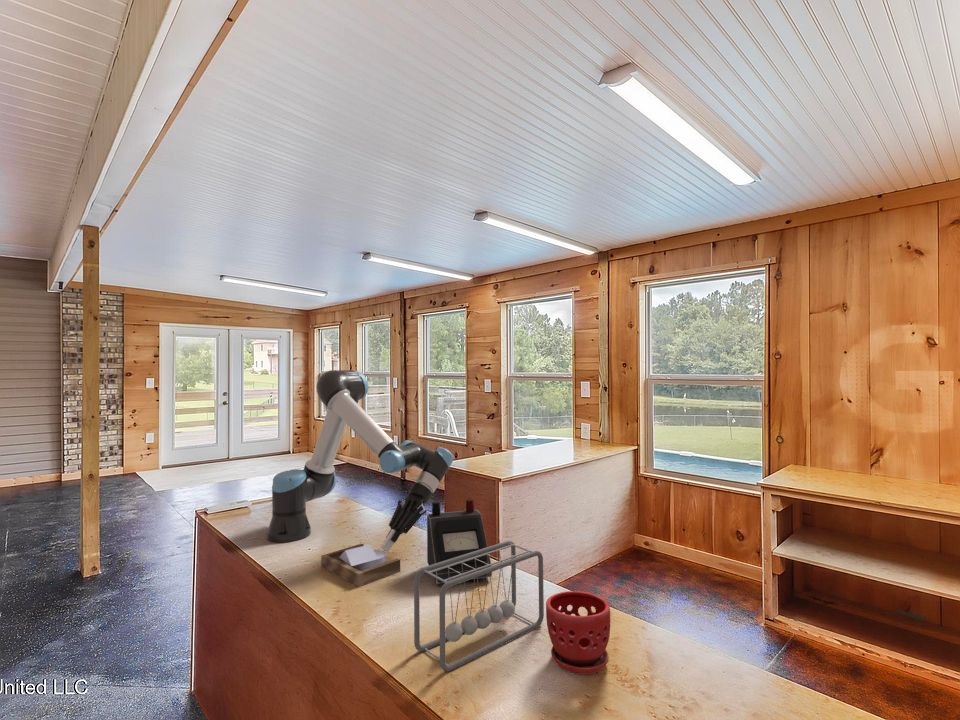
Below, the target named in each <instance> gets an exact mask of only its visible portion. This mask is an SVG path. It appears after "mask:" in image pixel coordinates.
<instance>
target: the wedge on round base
mask: <svg viewBox="0 0 960 720" xmlns="http://www.w3.org/2000/svg"><path fill="white" fill-rule="evenodd" d="M386 553H387V552H386V551H384V550H380V549H374V548H373V546H372V544H371V543H370V544H367V545H364V546H361V547H357V548H353V549H349V550H345V551H344V552H343V553H342V555H341V556H340V557H339V558H341V559H342V560H343V561H345V564H347V565H349V566H351V567H353V566H355V569H357V570H359V571H362V570H365V569H368V568H371V567H374V566H377V565H380V564H382V563H385V562H387V560H386V559H387V558H386V556H387V555H386Z"/></svg>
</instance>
